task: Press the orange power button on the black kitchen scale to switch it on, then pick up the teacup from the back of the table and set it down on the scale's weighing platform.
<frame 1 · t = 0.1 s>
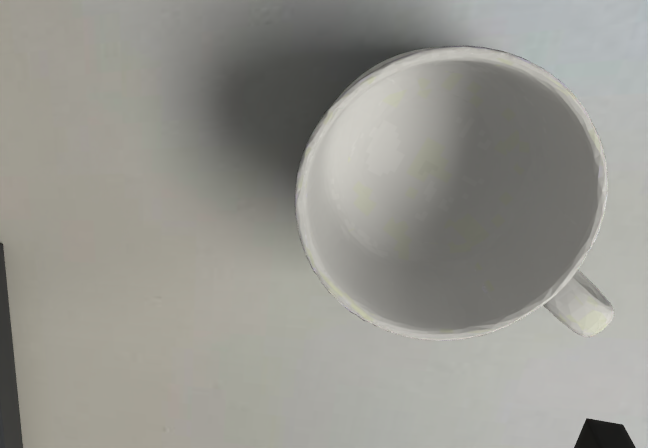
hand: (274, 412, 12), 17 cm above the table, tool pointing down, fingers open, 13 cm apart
teacup: (449, 173, 27), on the table
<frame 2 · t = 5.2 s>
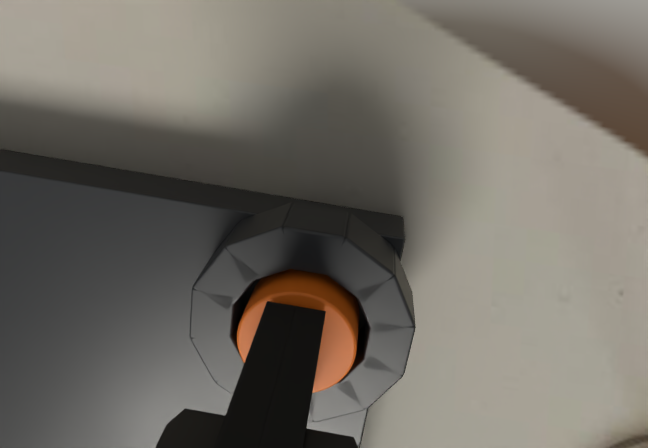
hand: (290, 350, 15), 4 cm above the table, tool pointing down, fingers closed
scale: (122, 372, 21), on the table
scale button: (300, 327, 16), point 3 cm above the table, slide at -0.6 cm, touching gripper
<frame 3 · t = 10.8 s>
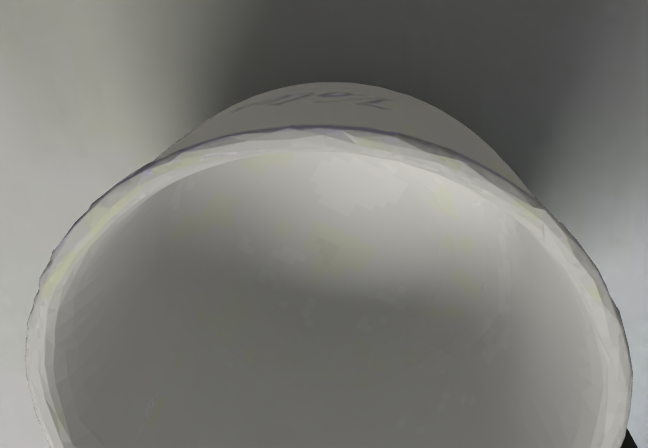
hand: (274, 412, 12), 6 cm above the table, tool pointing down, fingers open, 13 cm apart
teacup: (312, 266, 18), on the table
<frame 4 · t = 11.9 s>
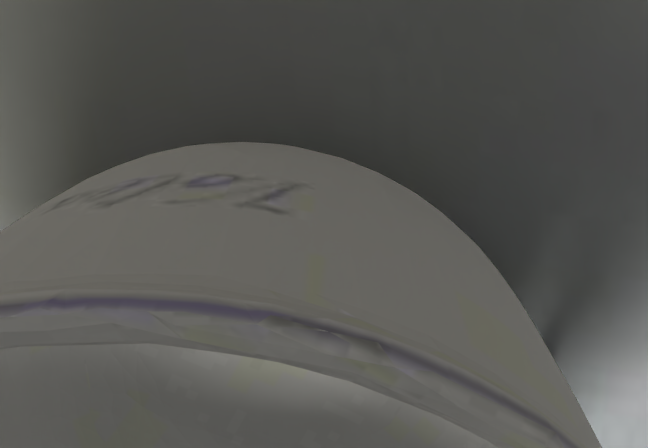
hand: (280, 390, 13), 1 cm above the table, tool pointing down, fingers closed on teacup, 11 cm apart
teacup: (243, 361, 14), on the table, touching gripper
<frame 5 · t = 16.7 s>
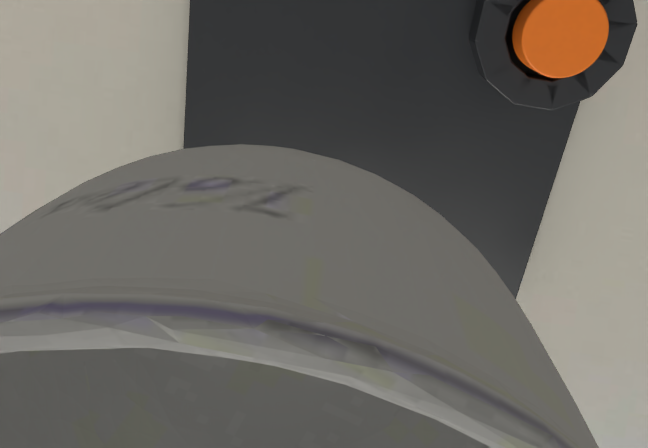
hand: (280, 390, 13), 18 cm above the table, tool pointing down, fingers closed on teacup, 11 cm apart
scale: (371, 121, 28), on the table
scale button: (558, 33, 22), point 4 cm above the table, slide at 0.1 cm
teacup: (243, 363, 14), point 17 cm above the table, touching gripper
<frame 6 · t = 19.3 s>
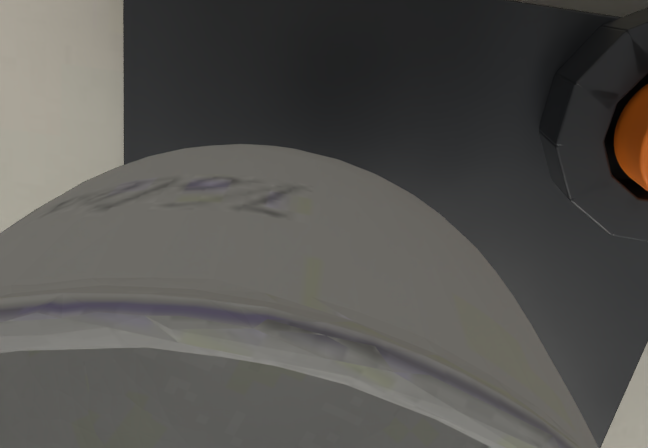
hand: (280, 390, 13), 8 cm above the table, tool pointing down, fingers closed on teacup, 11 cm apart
scale: (390, 231, 20), on the table
teacup: (242, 363, 14), point 7 cm above the table, touching gripper
when the fingers open (2 cm above the table, at t = 21.6 s): teacup stays where it is, resting on scale.
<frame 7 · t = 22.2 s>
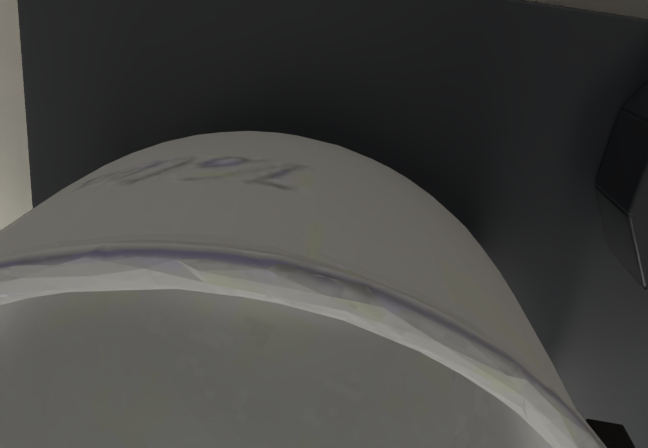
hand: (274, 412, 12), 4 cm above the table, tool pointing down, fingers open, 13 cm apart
scale: (389, 303, 15), on the table
teacup: (248, 342, 15), point 2 cm above the table, touching scale
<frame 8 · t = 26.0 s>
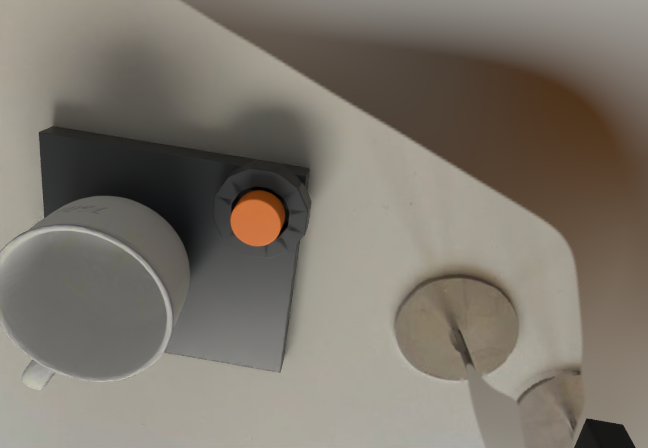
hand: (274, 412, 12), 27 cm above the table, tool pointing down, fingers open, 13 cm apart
scale: (176, 250, 42), on the table
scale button: (258, 218, 36), point 4 cm above the table, slide at 0.1 cm
teacup: (120, 263, 41), point 2 cm above the table, touching scale
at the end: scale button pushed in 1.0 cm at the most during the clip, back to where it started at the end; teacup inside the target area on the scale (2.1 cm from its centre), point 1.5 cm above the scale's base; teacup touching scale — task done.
